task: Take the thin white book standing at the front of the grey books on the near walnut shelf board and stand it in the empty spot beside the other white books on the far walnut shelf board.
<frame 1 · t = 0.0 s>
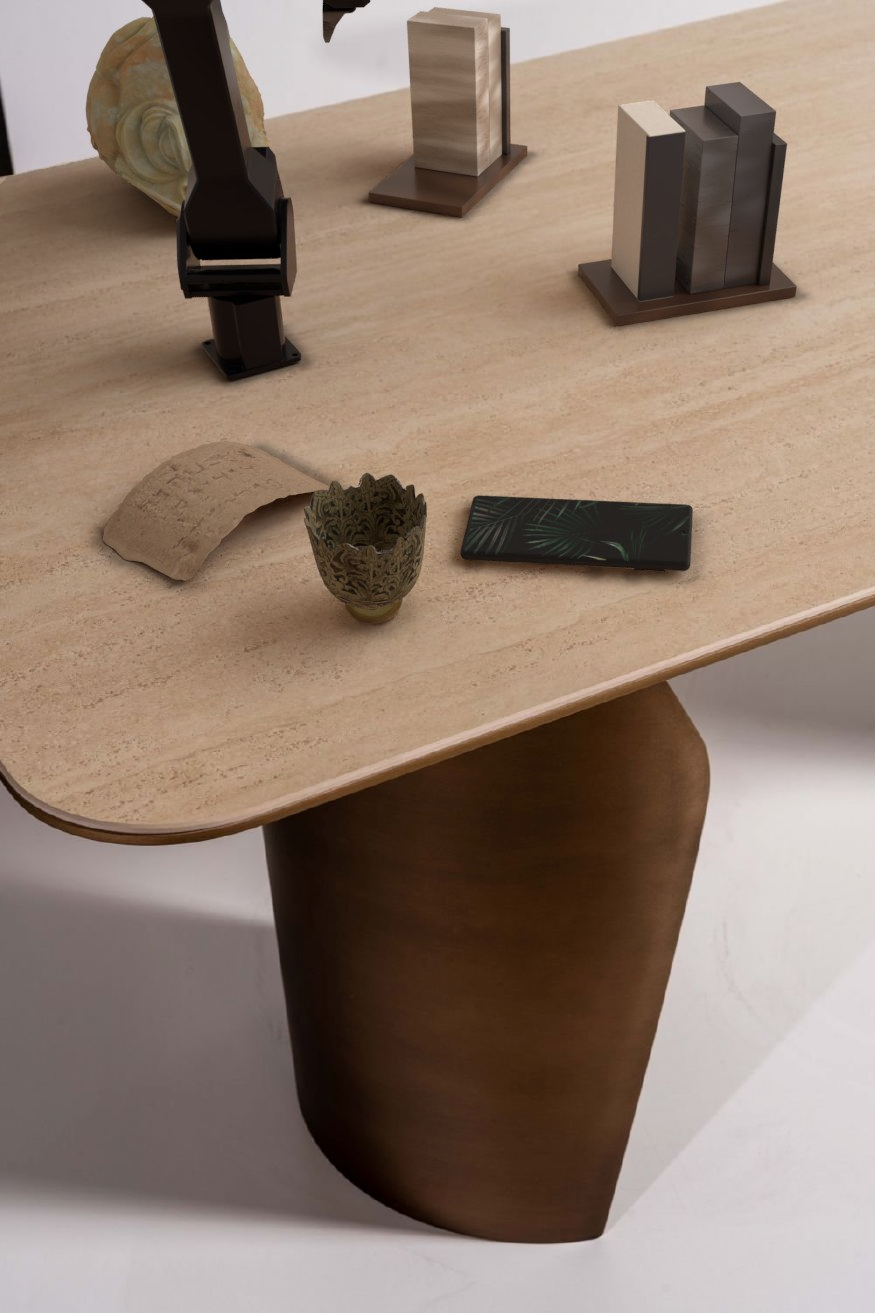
hand: (277, 39, 130), 15 cm above the table, tool tilted 35°, fingers open, 9 cm apart
white book shelf: (433, 193, 139), on the table
smartphone: (577, 541, 95), on the table
cup: (374, 612, 90), on the table
clay tablet: (220, 516, 99), on the table
grey book shelf: (640, 292, 121), on the table
white book: (641, 281, 121), point 1 cm above the table, touching grey book shelf
sculpture: (190, 199, 141), on the table
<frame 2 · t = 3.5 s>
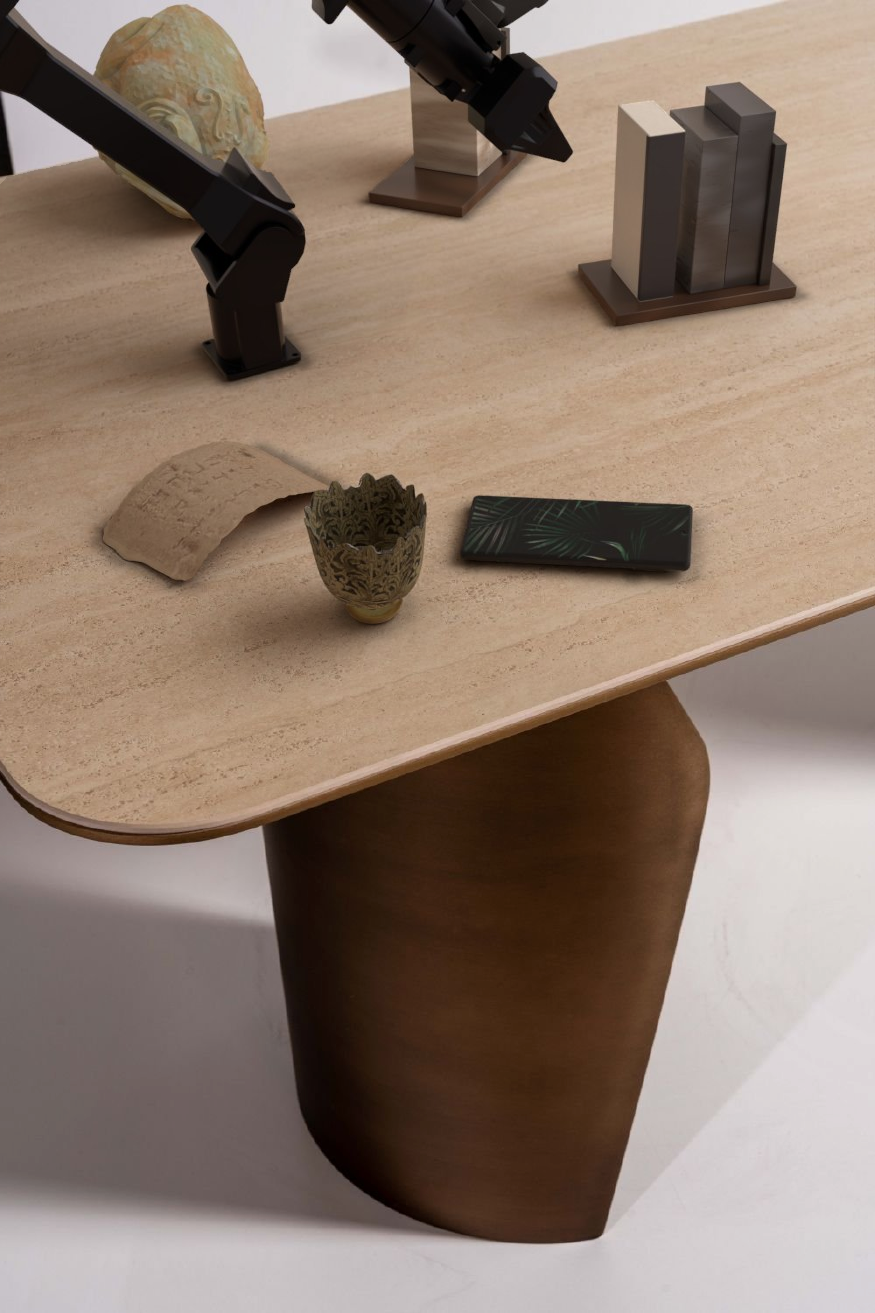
hand: (544, 136, 113), 14 cm above the table, tool tilted 45°, fingers open, 9 cm apart
nothing on the table moved.
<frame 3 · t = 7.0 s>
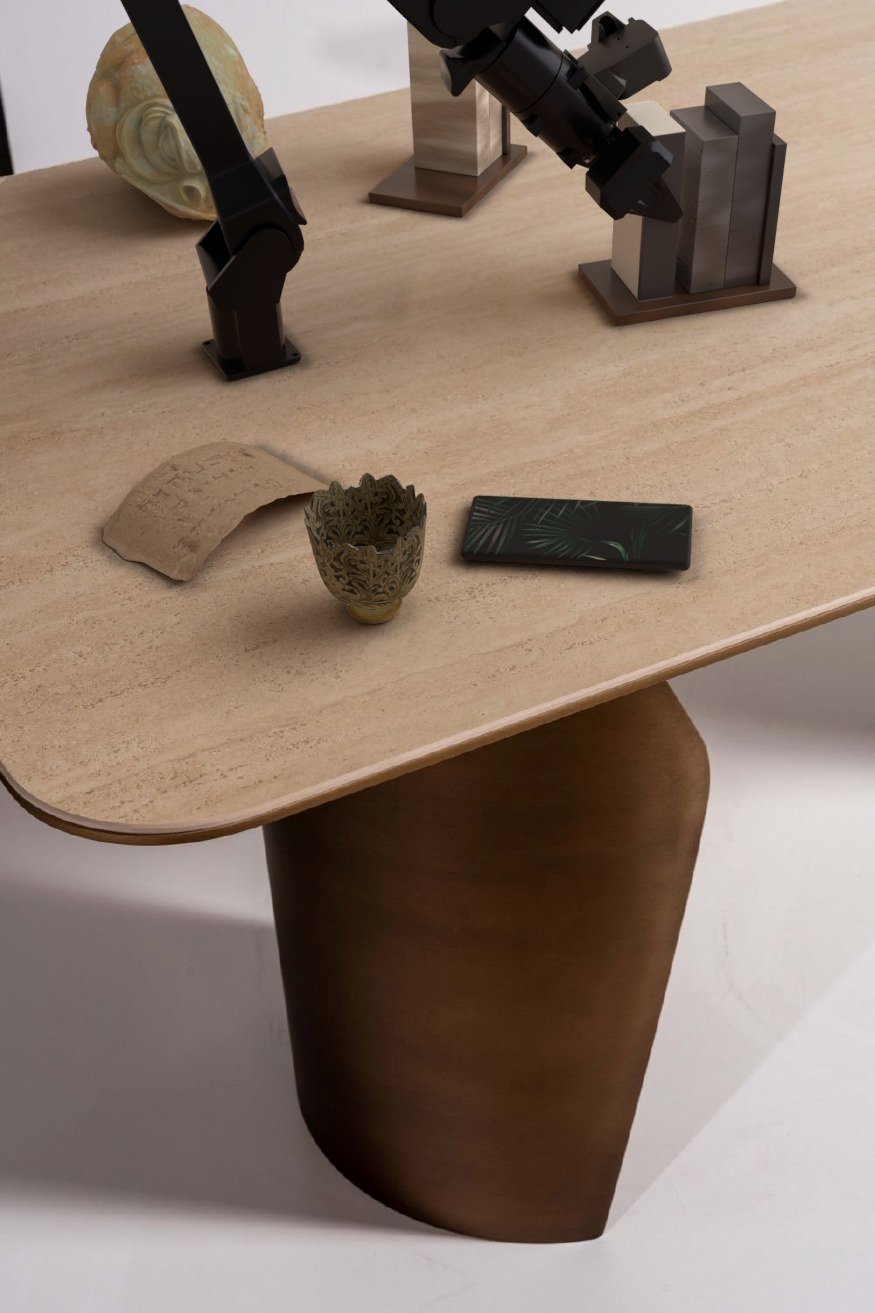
hand: (662, 200, 116), 8 cm above the table, tool tilted 45°, fingers closed on white book, 7 cm apart
white book: (641, 281, 121), point 1 cm above the table, touching grey book shelf, gripper
everything else where it was.
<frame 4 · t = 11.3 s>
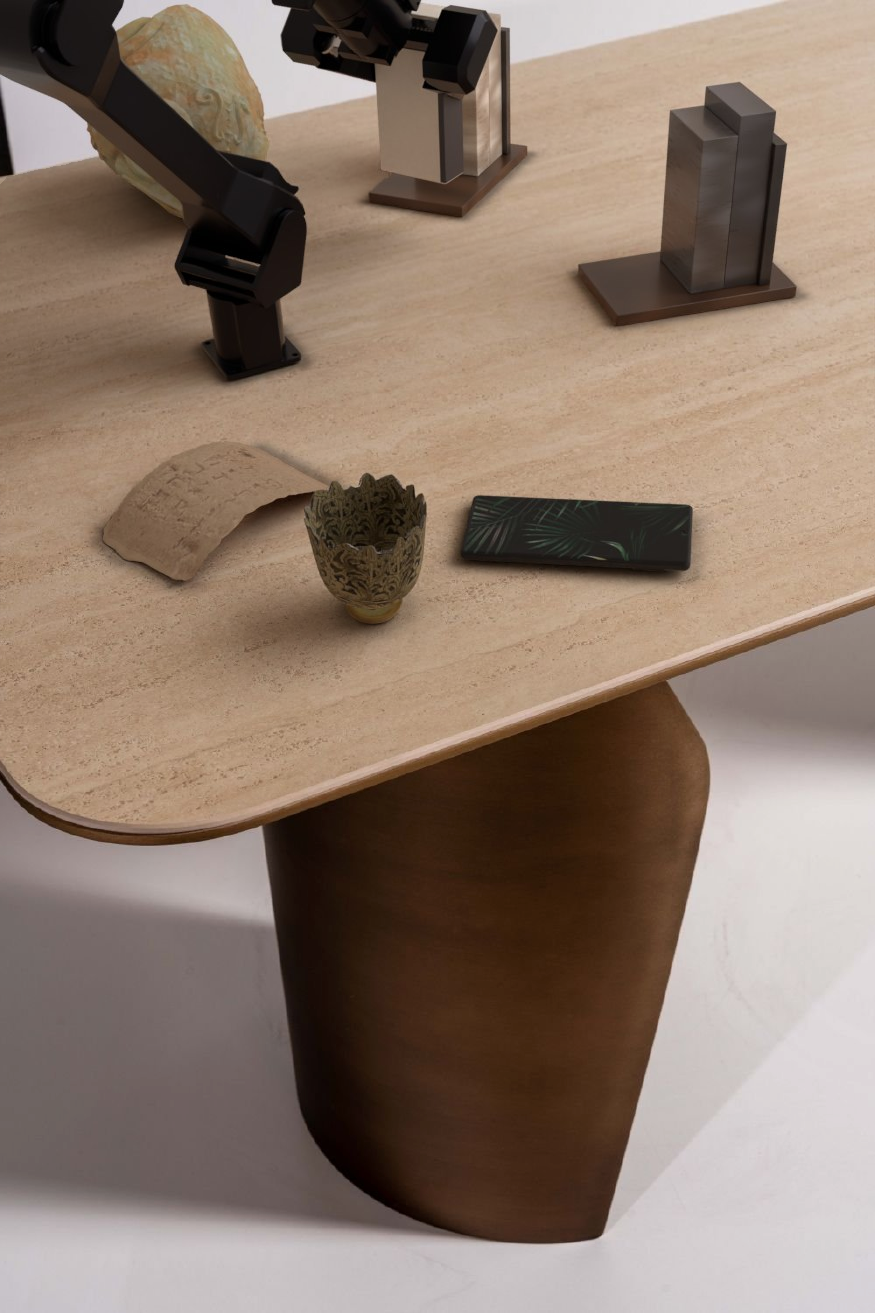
hand: (427, 87, 124), 13 cm above the table, tool tilted 45°, fingers closed on white book, 7 cm apart
white book: (421, 171, 128), point 6 cm above the table, touching gripper
everything else where it was.
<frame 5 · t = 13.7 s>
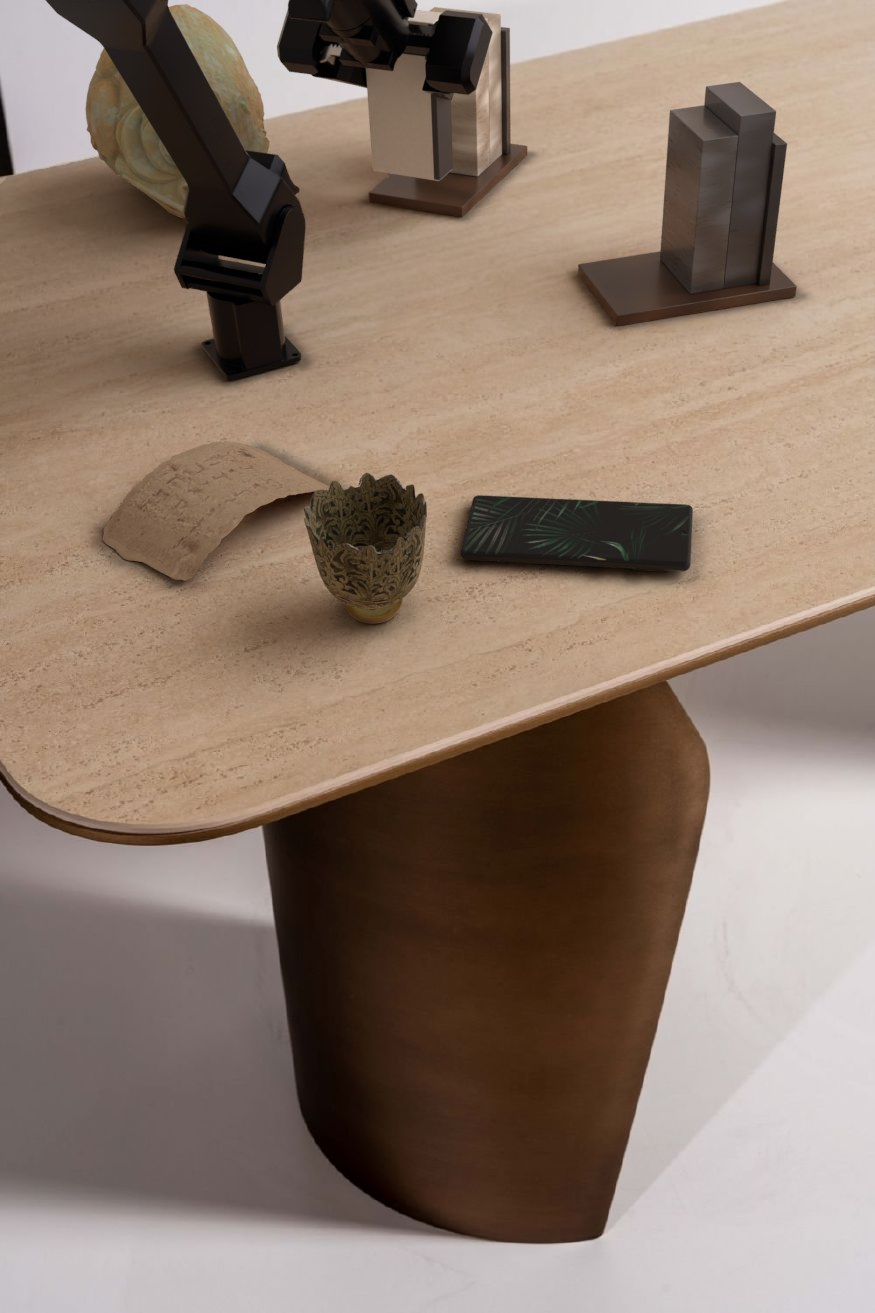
hand: (415, 89, 130), 11 cm above the table, tool tilted 45°, fingers closed on white book, 7 cm apart
white book: (412, 170, 134), point 4 cm above the table, touching gripper
everything else where it was.
when the fingers open (8 cm above the table, at t = 15.8 s): white book stays where it is, resting on white book shelf.
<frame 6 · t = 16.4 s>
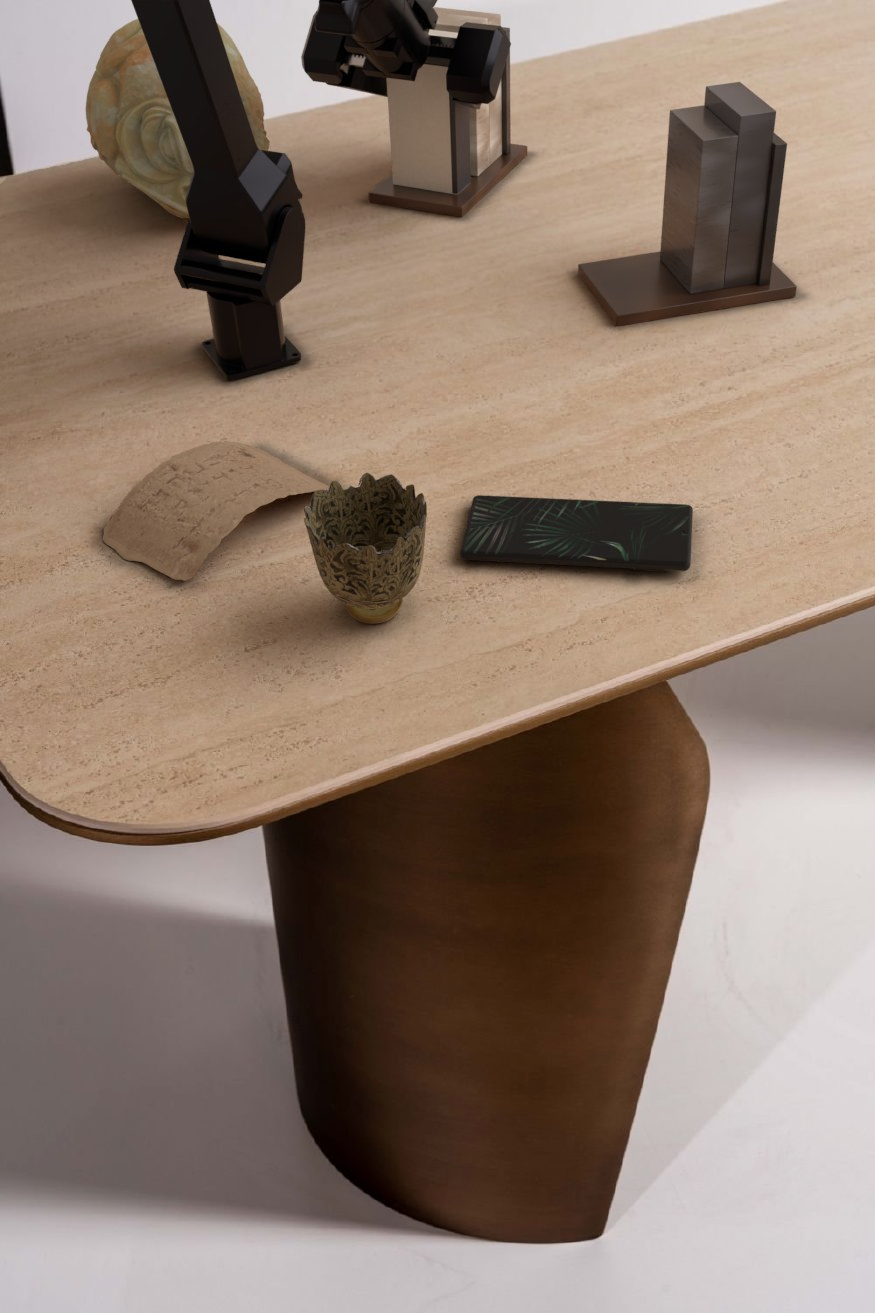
hand: (435, 98, 134), 9 cm above the table, tool tilted 45°, fingers open, 9 cm apart
white book: (431, 183, 138), point 1 cm above the table, touching white book shelf
everything else where it was.
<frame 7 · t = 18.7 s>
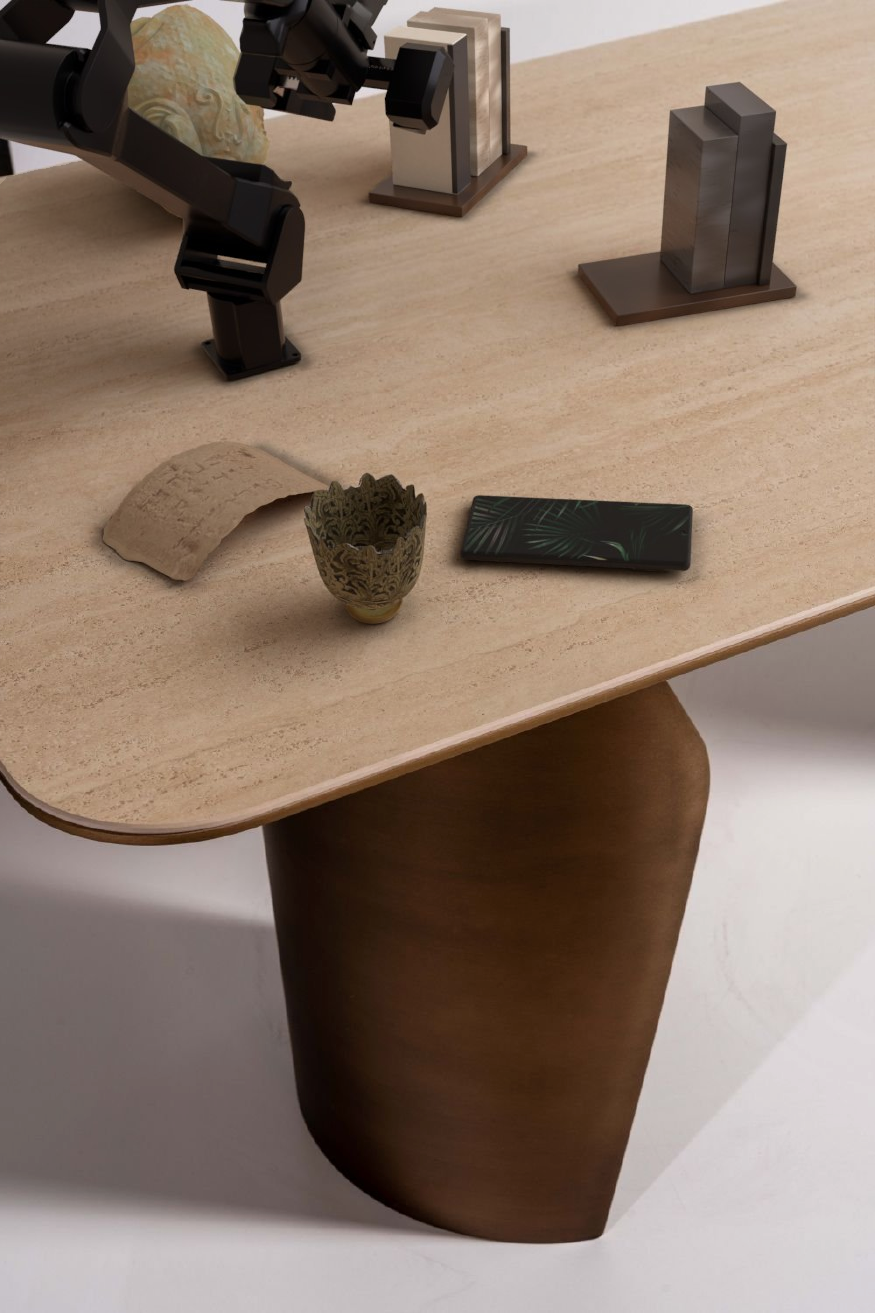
hand: (378, 122, 126), 10 cm above the table, tool tilted 45°, fingers open, 9 cm apart
nothing on the table moved.
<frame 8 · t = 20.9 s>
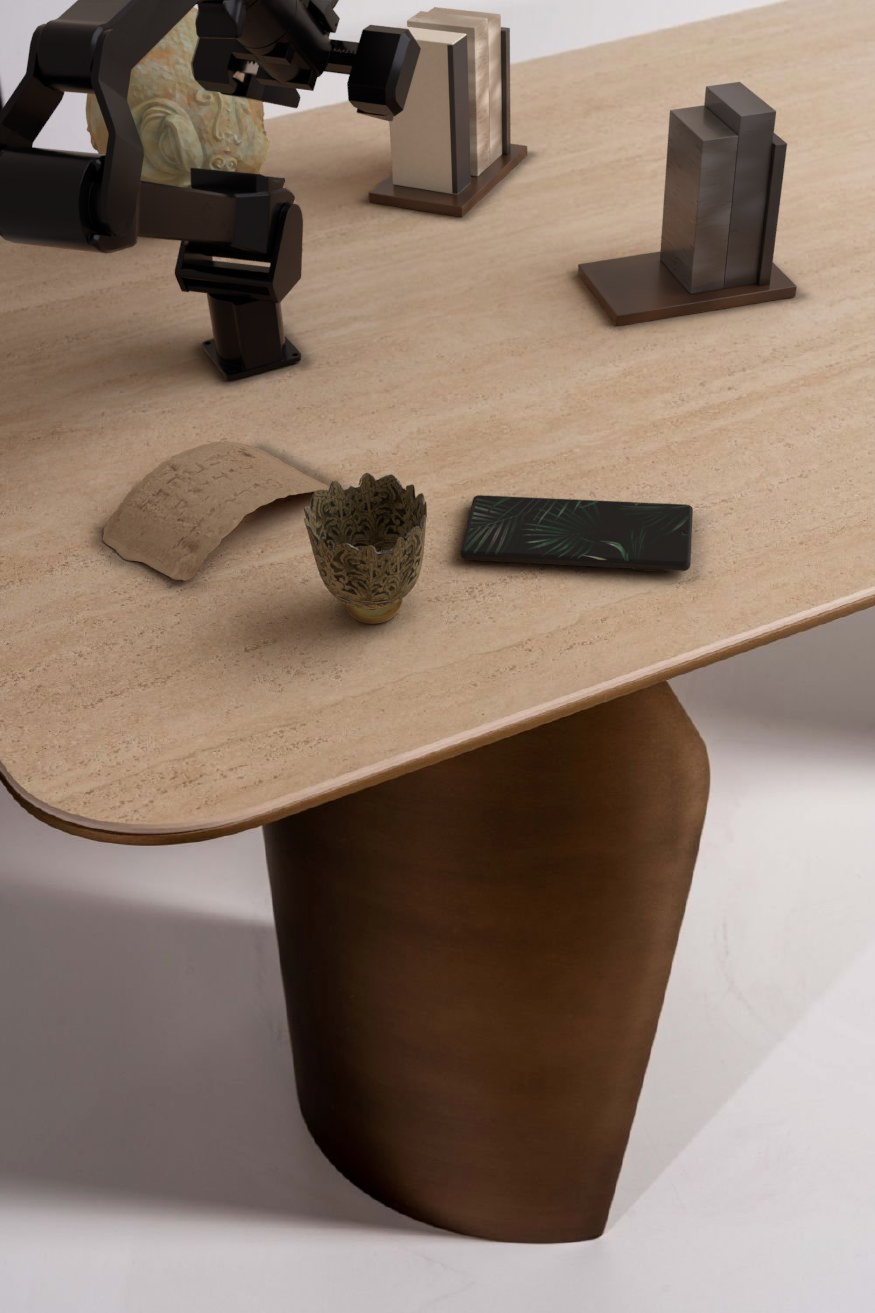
hand: (344, 108, 121), 13 cm above the table, tool tilted 45°, fingers open, 9 cm apart
nothing on the table moved.
at the end: white book 0.1 cm off-centre on the white book shelf, point 1.0 cm above the white book shelf's base; white book tilted 0°; the gripper is holding nothing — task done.
